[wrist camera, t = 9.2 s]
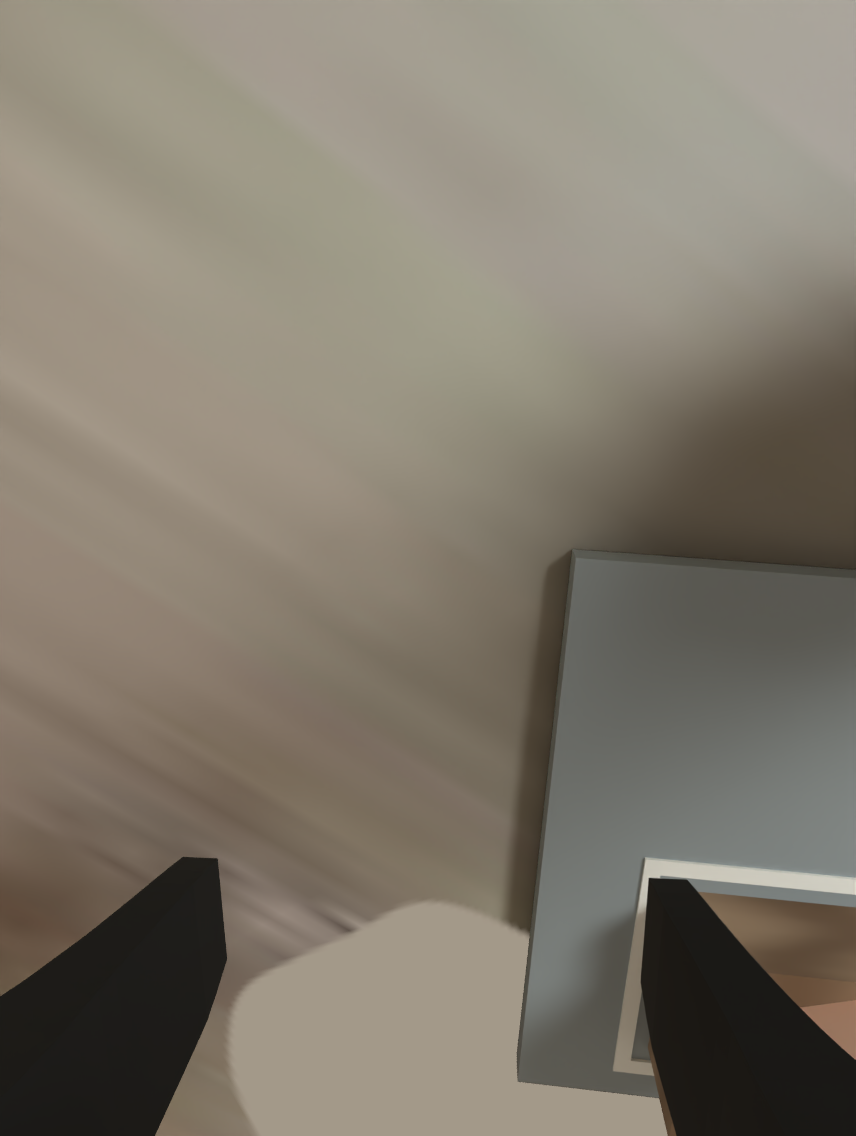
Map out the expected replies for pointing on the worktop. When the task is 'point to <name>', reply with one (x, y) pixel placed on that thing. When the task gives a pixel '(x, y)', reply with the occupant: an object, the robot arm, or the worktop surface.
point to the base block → (789, 951)
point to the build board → (681, 781)
